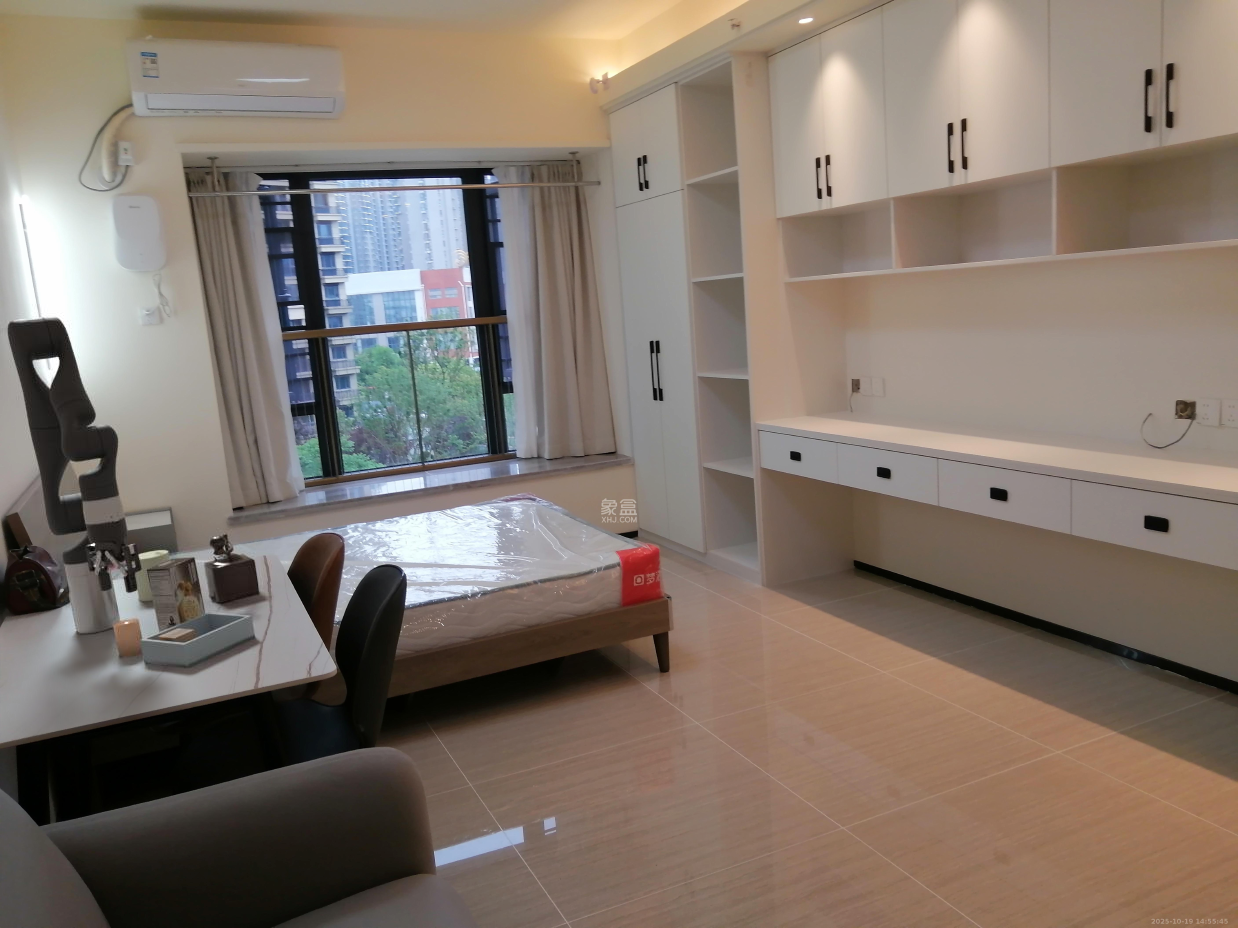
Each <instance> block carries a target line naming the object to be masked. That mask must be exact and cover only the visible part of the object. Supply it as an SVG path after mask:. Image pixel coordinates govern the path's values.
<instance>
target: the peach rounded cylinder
mask: <svg viewBox="0 0 1238 928" xmlns="http://www.w3.org/2000/svg"><path fill="white" fill-rule="evenodd" d="M113 631H114V636H115V641H116V645H117V651H118V656H119V657H121V658H129V657H133V656H137V655H139V654H143V653H142V648H141V643H140V640H141V639H143V635H142V629H141V624H140V619H138V618H127V619H123V620H120V621H119V622H117V623H115V624H114V625H113Z"/></svg>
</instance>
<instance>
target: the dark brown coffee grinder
mask: <svg viewBox="0 0 1238 928" xmlns="http://www.w3.org/2000/svg"><path fill="white" fill-rule="evenodd" d="M228 537H229V534H227V533H224V534H222V535H215V536H213V537H211V538H210V541H209V546H210V547H211V548H213V555H214V556H213V558H214V559H213V560H211V561H206V562H205V561H204V563H203V565H204V566H203V567H204V572H205V577H206V579H205V580H206V584H207V588H208V597H209V598H210V599H211V600H212V601H214V602H216V603H219V604H223V603H229V602H234V601H237V600H242V599H246V598H249V597H253V596H257V595H260V588H259V580H258V573H257V565H256V561H255V559H253V558H251V557H249V556H247V555H246V554H243V553H241V554H239V553H234V549H235V548H234V546H233V544H231V542H230V541H229V538H228ZM232 552H233V553H232ZM215 556H217V557H215Z"/></svg>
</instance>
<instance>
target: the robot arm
mask: <svg viewBox="0 0 1238 928" xmlns="http://www.w3.org/2000/svg"><path fill="white" fill-rule="evenodd" d="M7 338H8V343H9V347H10V351H11V354H12V357H13V360H14V364H15V365H14V366H15V368H16V371H17V375H18V378H19V382H20V385H21V390H22V394H23V400H24V406H25V411H26V415H27V423H28V427H29V432H30V437H31V442H32V447H33V450H34V455H35V458H36V461H37V462H36V463H37V465H38V470H39V474H40V475H39V476H40V481H41V487H42V488H41V489H42V495H43V501H44V508H45V515H46V519H47V524H48V528H49V529H50V531H51V533H52V534H53V535H55V536H57V537H58V536H66V535H70V534H71V535H72V534H77V533H81V532H82V533H83V532H86V533H87V534H86V535H85V537H84V538H83V539H81V540H80V541H79V542H77V543H76V544H74V545H72V546H70V547H68V548H67V549H65V550H64V551H63V552H62V560H63V561H62V562H63V565H64V570H65V574H66V579H67V584H68V589H69V593H68V597H69V601H70V606H71V611H72V617H73V620H74V626H75V630H76V631H77V632H78V633H79V634H84V635H85V634H94V633H99V632H104V631H106V630H110V629H114V627H113V625H114V624H115V623H117V622H119V621H121V618H120V611H119V607H118V602H117V597H116V591H115V586H114V582H113V577H112V576H113V575H112V572H111V566H114V567H115V568H116V569H117V570H119V571H120V572H121V574H122V575H123V577H122V578H123V582H124V587H125V592H126V593H128V594H129V593H130V594H132V593H135V592H136V591H137V592H138V590H137V582H136V577H135V573H136V572H138V571H141V570H142V568H141V563H140V559H139V555H138V554H139V550H138V547H137V544H136V543H131V544H127V543H126V541H125V539H126V538H127V537H128V535H129V532H128V531H129V530H128V527H127V522H126V520H127V519H126V515H125V510H124V506H123V502H122V500H121V497H120V491H119V487H118V482H117V473H116V469H117V468H116V467H117V456H118V450H119V437H118V433H117V432H116V430H115V429H114V427H112V426H110V425H108V424H96V425H92V424H93V423H94V422H95V421H96V418H97V415H96V410H95V407H94V405H93V404H92V402H91V400H90V397H89V396H88V394H87V391H86V389H85V386H84V384H83V382H82V378H81V374H80V370H79V366H78V363H77V359H76V356H75V353H74V350H73V346H72V342H71V339H70V336H69V333H68V330H67V329H66V326H65V324H64V322H63V321H62V320H61V319H60V318H58V317H57V316H43V317H42V316H41V317H33V318H32V317H31V318H20V319H14V320H12V321H10V322H9V323H8V325H7ZM54 358H58V368H57V370H56V373H55V375H54V377H53V380H52V382H51V384H50V387H49V386H48V385H47V384H46V383H45V381H44V380H43V379H42V378H41V377H40V375H39V374H38V372H37V370H36V368H35V366H34V362H33V361H40V360H47V359H54ZM90 425H91V426H90ZM98 459H100V460H99V463H98V465H97V466H95V468H92V469H91V470H88V471H85V472H83V473H81V474H80V475H79V476H78V481H77V482H78V486H79V490H80V491H79V492H78V493H71V494H65V495H60V493H59V492H60V485H61V482H62V478H63V476H64V473H65V472H66V469H67V466H68V465H69V464H70V462H75V463H80V462H85V461H91V460H98ZM133 561H134V562H135V567H134V565H133V564H132V562H133Z"/></svg>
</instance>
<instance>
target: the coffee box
mask: <svg viewBox="0 0 1238 928" xmlns="http://www.w3.org/2000/svg"><path fill="white" fill-rule="evenodd" d="M196 563H197V562H196V557H195V556H193V557H192V556H191V557H178V558H177V557H176V558H169V560H168V561H166V562H163V563H161V564H158V565H156V566H154V567H152V568H149V569H147V574H148V579H149V583H150V588H151V593H152V598H153V601H152V602H153V607H154V610H155V611H154V612H155V617H156V621H157V627H158V631H159V632H161V631H164V630H166V629H169V628H171V627H174V626H176V625H179V624H181V623H184V622H186V621H188V620H191V619H193V618H196V617H198V616H201V615H203V614H206V613H207V612H206V609H205V605H204V599H203V598H204V597H203V595H202V587H201V584H200V578H199V574H198V568H197V564H196ZM159 632H158V633H159Z"/></svg>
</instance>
